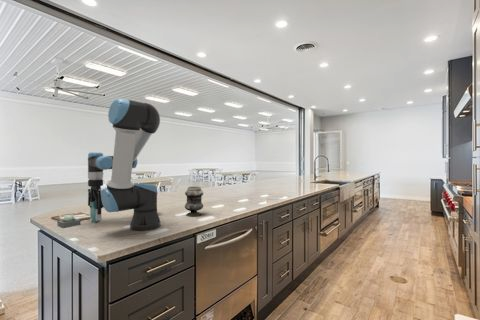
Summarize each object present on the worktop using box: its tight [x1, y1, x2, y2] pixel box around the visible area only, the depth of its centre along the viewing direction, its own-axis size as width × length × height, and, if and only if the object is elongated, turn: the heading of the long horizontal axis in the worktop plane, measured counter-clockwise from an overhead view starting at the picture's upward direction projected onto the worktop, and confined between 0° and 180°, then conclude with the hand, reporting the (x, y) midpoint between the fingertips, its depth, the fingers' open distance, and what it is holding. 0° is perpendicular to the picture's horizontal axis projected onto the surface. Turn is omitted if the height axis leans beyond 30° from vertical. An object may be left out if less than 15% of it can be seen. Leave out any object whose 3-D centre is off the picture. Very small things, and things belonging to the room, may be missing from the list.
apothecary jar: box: [184, 186, 204, 217], centre depth 159 cm, size 12×12×18 cm
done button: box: [64, 215, 74, 222], centre depth 133 cm, size 4×4×3 cm
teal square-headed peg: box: [90, 201, 100, 223], centre depth 141 cm, size 4×4×11 cm
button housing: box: [56, 218, 81, 229], centre depth 133 cm, size 8×8×2 cm
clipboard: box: [51, 212, 91, 222], centre depth 149 cm, size 20×16×2 cm
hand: (95, 219), depth 141 cm, fingers open, 6 cm apart
